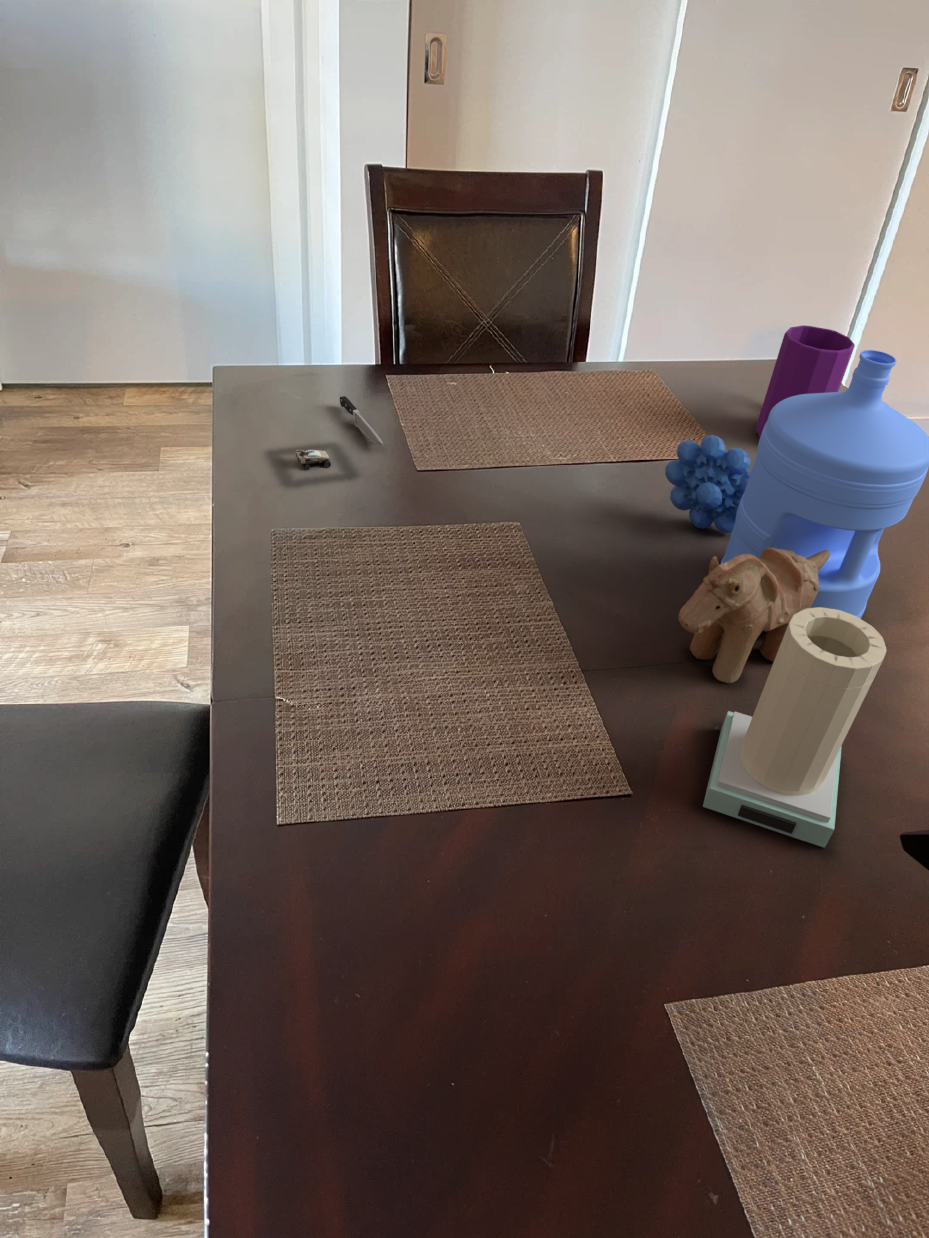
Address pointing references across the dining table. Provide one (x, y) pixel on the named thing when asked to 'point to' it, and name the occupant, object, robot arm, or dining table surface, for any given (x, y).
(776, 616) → the figurine
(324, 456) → the toy car
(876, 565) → the water jug
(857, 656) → the jar
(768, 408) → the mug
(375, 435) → the knife
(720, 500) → the blue knobby flower
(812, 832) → the scale
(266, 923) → the dining table surface
